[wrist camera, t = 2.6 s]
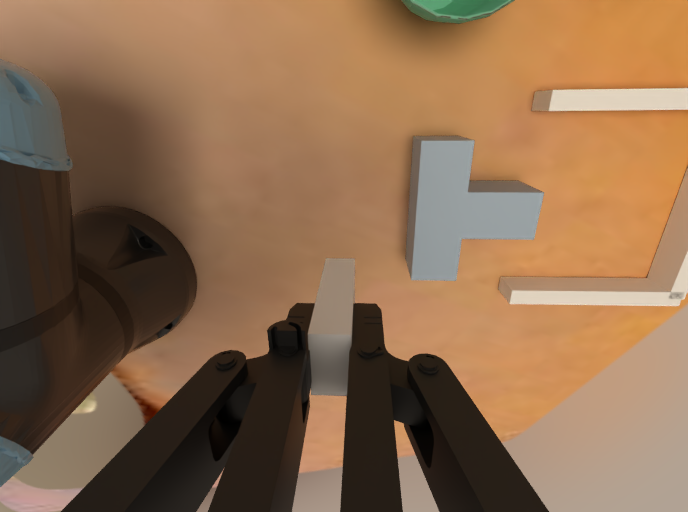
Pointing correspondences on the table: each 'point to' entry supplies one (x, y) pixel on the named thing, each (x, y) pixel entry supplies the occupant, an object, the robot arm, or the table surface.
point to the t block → (459, 207)
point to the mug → (454, 9)
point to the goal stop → (677, 240)
